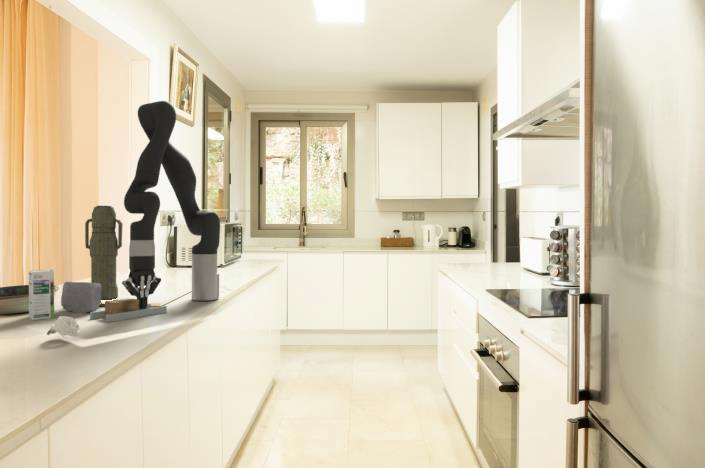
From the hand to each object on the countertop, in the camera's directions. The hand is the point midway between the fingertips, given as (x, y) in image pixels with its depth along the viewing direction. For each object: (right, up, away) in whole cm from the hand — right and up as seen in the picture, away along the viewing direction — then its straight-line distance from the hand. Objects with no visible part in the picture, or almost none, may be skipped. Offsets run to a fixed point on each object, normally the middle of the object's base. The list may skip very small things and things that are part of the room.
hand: (142, 308), depth 155 cm
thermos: (-21, -2, +17) cm, 27 cm away
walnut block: (-4, -2, -5) cm, 7 cm away
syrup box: (-26, -2, -9) cm, 28 cm away
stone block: (-20, -2, +2) cm, 20 cm away
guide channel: (-2, -2, -4) cm, 4 cm away
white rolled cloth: (-6, -2, -31) cm, 32 cm away
